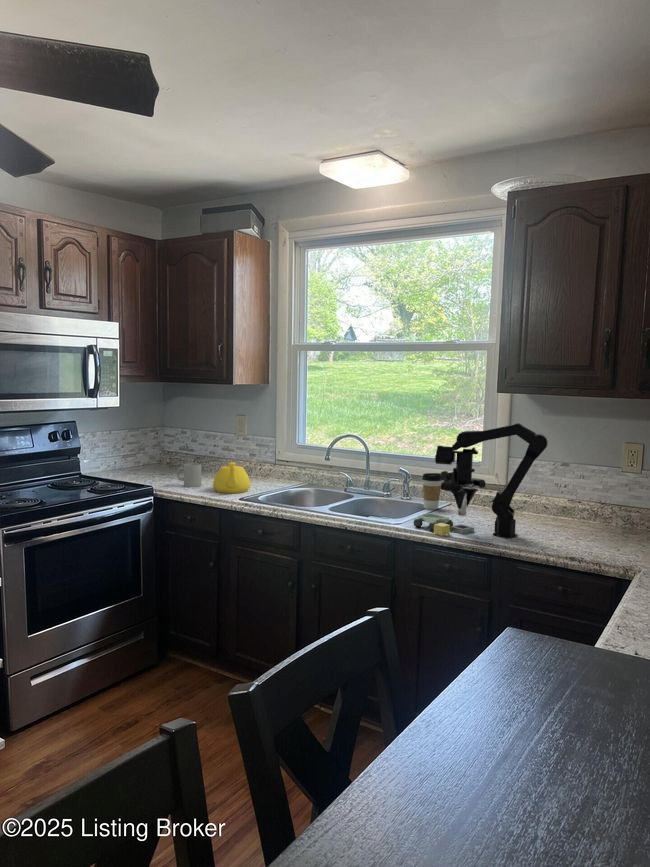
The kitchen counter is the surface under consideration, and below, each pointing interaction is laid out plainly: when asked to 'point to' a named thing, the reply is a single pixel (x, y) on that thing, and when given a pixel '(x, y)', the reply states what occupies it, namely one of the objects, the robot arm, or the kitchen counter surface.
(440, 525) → the block
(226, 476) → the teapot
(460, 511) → the pin
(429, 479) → the coffee cup
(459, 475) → the robot arm
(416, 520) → the trolley
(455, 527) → the socket
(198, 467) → the mug
